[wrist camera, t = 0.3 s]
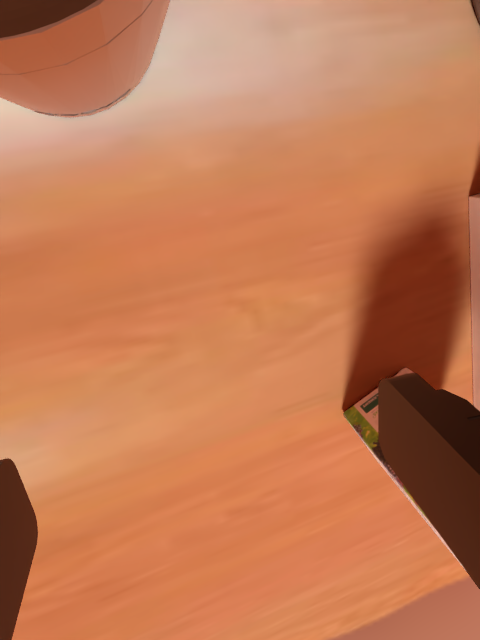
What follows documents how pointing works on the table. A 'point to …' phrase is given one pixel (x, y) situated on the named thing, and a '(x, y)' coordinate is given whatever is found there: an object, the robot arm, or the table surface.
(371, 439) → the syrup box
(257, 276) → the table surface
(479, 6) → the plant pot
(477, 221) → the tray
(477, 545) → the robot arm
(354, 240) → the table surface
